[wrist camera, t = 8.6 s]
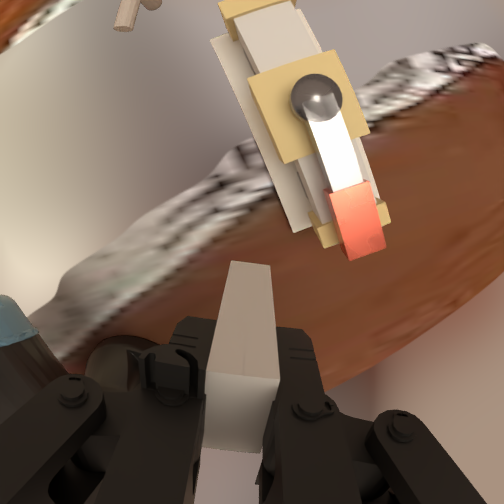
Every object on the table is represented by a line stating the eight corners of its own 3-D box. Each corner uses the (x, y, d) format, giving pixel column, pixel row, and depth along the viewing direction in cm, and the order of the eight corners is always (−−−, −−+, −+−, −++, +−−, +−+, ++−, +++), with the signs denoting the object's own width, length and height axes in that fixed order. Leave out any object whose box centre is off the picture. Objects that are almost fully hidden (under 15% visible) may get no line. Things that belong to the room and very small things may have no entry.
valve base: (292, 229, 31) (303, 264, 22) (212, 44, 25) (190, 6, 16) (375, 197, 30) (417, 219, 20) (298, 14, 24) (310, -32, 15)
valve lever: (378, 236, 21) (389, 246, 19) (338, 250, 21) (346, 262, 19) (325, 75, 18) (332, 67, 15) (281, 87, 18) (283, 81, 16)
